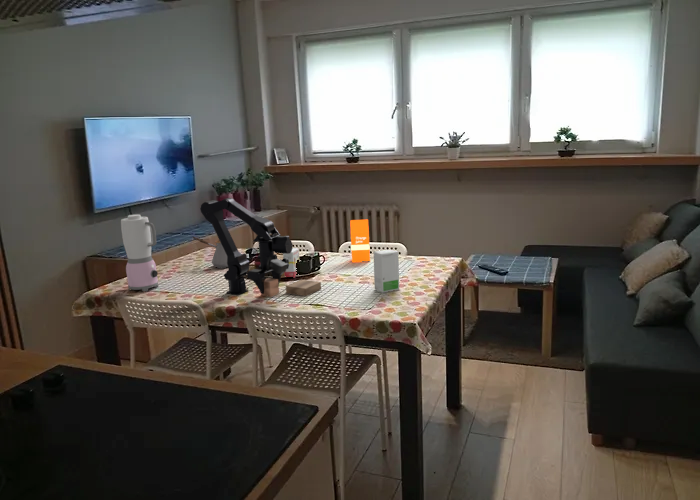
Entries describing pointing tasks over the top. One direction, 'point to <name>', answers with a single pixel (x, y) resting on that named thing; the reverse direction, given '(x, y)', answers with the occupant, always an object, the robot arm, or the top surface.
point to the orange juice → (360, 240)
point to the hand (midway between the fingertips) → (269, 290)
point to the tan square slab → (303, 287)
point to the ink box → (291, 262)
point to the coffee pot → (217, 254)
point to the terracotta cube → (270, 287)
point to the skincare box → (386, 270)
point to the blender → (139, 252)
